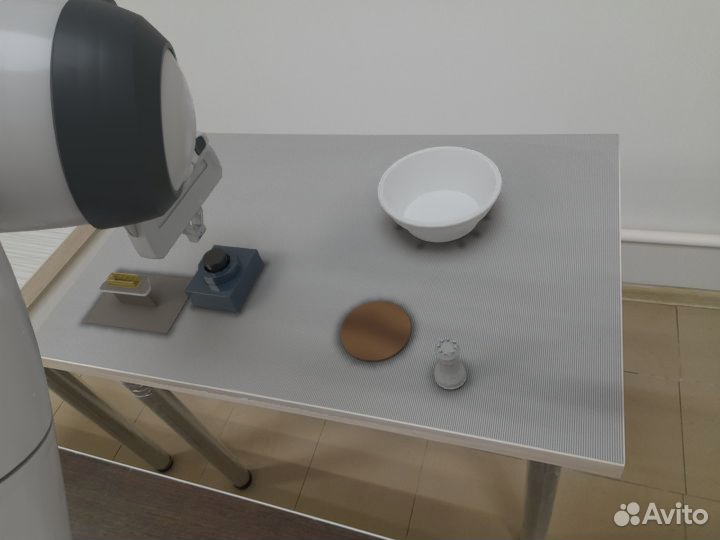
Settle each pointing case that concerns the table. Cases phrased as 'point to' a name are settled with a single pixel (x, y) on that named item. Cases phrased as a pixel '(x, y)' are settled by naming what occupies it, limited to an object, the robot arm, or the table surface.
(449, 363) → the rook chess piece
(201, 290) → the blue push button box
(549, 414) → the table surface
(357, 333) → the coaster
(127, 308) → the platform
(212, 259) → the dark grey push button
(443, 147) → the bowl
